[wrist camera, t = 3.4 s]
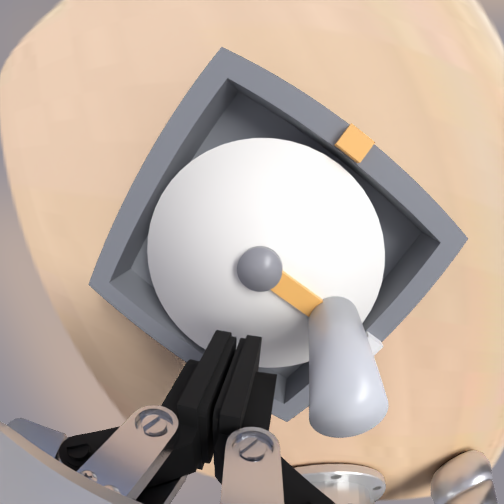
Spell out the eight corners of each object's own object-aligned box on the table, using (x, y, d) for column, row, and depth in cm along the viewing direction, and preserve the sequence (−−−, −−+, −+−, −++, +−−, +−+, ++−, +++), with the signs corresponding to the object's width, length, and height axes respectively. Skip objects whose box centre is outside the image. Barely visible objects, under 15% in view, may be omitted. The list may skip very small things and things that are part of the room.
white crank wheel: (136, 269, 13) (40, 336, 7) (239, 102, 11) (171, 31, 4) (285, 374, 14) (270, 486, 7) (412, 234, 11) (506, 299, 4)
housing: (437, 224, 12) (474, 241, 8) (290, 385, 16) (286, 428, 12) (237, 71, 11) (218, 41, 8) (120, 265, 15) (82, 288, 12)
